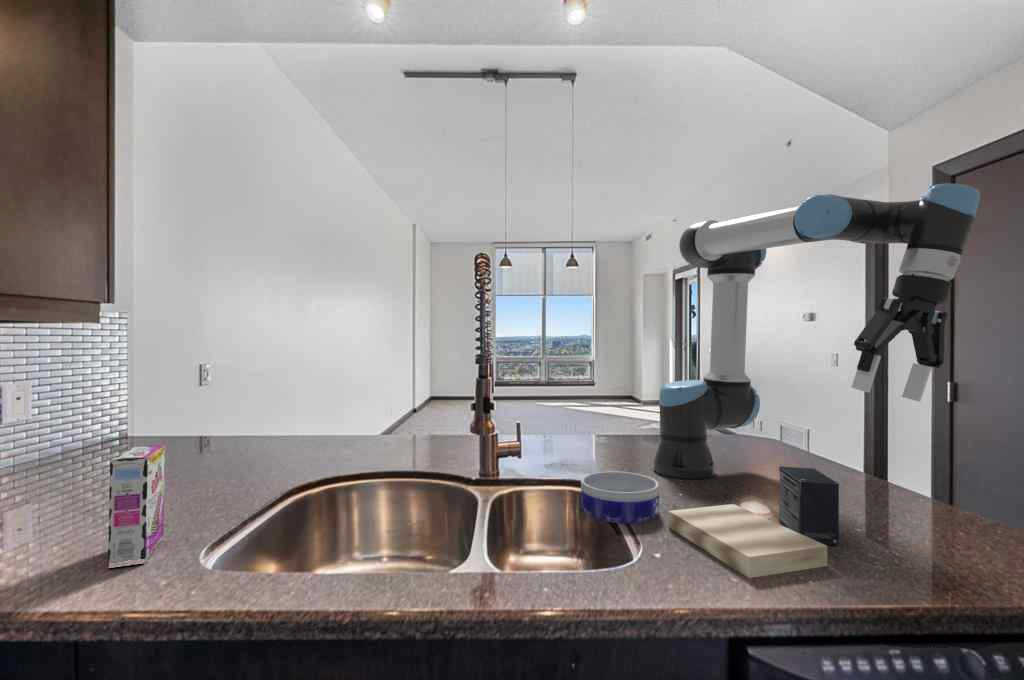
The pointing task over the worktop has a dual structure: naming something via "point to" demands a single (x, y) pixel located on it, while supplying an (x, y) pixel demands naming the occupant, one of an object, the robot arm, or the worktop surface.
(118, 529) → the candy bar box
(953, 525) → the worktop surface
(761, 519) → the maple board
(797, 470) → the small box
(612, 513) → the dog bowl
